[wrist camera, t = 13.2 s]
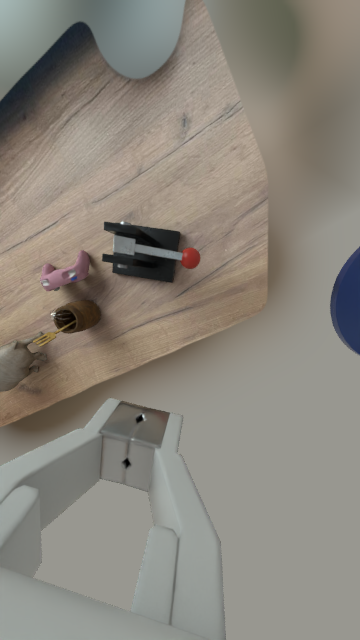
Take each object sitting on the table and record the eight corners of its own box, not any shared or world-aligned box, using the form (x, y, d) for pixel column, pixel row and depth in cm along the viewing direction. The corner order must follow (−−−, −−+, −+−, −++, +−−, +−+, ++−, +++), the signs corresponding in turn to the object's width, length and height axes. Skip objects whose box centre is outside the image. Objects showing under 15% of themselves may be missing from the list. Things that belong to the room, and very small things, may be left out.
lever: (197, 250, 32) (205, 249, 29) (194, 269, 32) (201, 270, 29) (115, 233, 27) (114, 230, 25) (113, 256, 28) (112, 255, 25)
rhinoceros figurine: (61, 354, 41) (-31, 404, 32) (58, 365, 52) (-12, 405, 42) (40, 325, 41) (-59, 366, 32) (42, 341, 52) (-32, 376, 42)
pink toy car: (60, 282, 42) (43, 299, 36) (45, 263, 39) (24, 278, 34) (99, 268, 40) (87, 284, 34) (86, 247, 37) (70, 261, 32)
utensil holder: (106, 308, 40) (65, 321, 29) (94, 332, 42) (52, 354, 30) (82, 293, 40) (31, 301, 29) (72, 318, 42) (20, 335, 30)
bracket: (180, 233, 35) (167, 212, 23) (173, 282, 37) (158, 285, 26) (118, 224, 36) (77, 200, 25) (115, 272, 38) (76, 271, 27)
